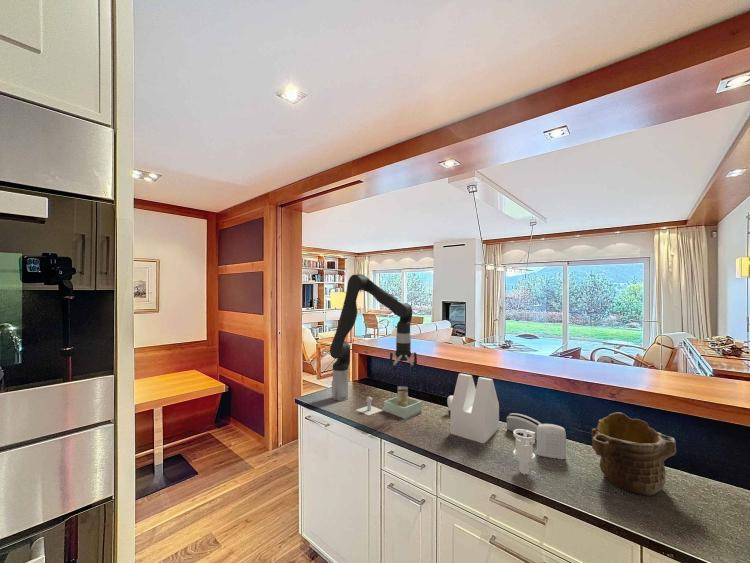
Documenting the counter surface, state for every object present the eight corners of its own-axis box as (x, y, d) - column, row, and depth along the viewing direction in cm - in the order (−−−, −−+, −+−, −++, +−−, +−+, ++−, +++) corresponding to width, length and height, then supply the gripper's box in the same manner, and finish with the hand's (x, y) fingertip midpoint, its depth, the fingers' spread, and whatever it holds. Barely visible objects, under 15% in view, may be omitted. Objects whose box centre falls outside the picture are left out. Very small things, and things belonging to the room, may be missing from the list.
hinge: (548, 439, 143) (545, 419, 141) (543, 446, 140) (540, 426, 138) (512, 426, 156) (508, 408, 154) (507, 432, 153) (503, 413, 151)
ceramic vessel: (673, 498, 90) (611, 408, 105) (602, 511, 107) (557, 431, 122) (713, 477, 100) (651, 397, 114) (642, 492, 117) (596, 420, 131)
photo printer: (564, 455, 129) (564, 424, 129) (567, 461, 125) (567, 428, 125) (535, 451, 132) (535, 420, 132) (537, 456, 128) (537, 425, 128)
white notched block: (467, 420, 163) (467, 369, 164) (498, 428, 154) (498, 375, 154) (450, 433, 148) (450, 378, 148) (484, 443, 139) (484, 384, 139)
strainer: (533, 480, 113) (533, 436, 113) (511, 473, 116) (511, 431, 117) (536, 470, 119) (535, 428, 119) (515, 464, 122) (515, 424, 123)
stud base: (355, 411, 173) (355, 396, 173) (369, 406, 180) (369, 392, 180) (368, 417, 166) (368, 401, 166) (382, 412, 173) (382, 396, 173)
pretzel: (458, 419, 163) (458, 401, 163) (440, 411, 173) (440, 394, 173) (473, 414, 170) (473, 397, 170) (455, 407, 180) (455, 391, 180)
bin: (383, 412, 172) (384, 401, 172) (401, 405, 182) (401, 394, 182) (404, 420, 162) (404, 408, 162) (421, 412, 172) (421, 401, 172)
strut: (398, 412, 169) (398, 389, 169) (397, 409, 174) (397, 386, 174) (407, 412, 169) (407, 389, 169) (406, 409, 174) (407, 386, 174)
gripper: (390, 342, 168) (389, 374, 168) (417, 342, 168) (417, 374, 168) (389, 339, 176) (389, 370, 176) (416, 340, 176) (415, 370, 176)
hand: (403, 372), depth 172 cm, fingers open, 8 cm apart
